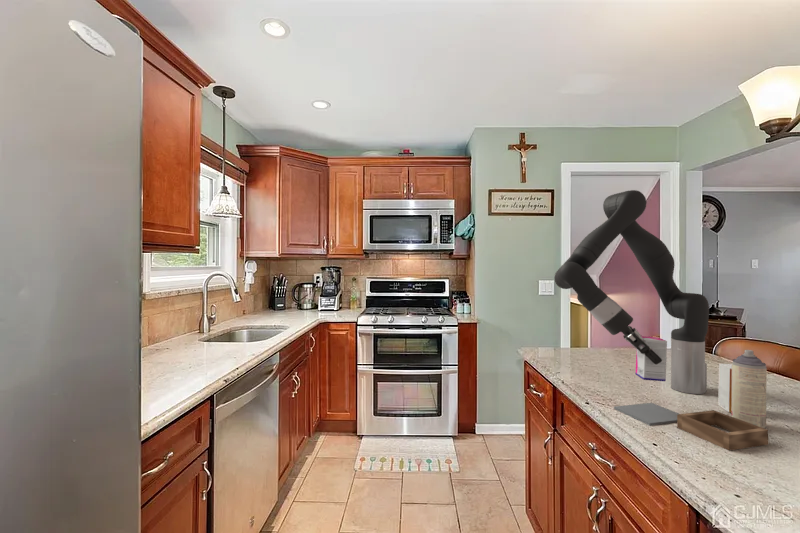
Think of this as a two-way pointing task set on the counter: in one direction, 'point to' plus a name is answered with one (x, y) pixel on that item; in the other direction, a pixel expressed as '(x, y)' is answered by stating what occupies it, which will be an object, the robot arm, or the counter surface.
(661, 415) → the slate mat
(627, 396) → the counter surface
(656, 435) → the counter surface
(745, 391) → the aerosol can
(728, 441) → the tray
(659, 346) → the supplement box
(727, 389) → the small box
